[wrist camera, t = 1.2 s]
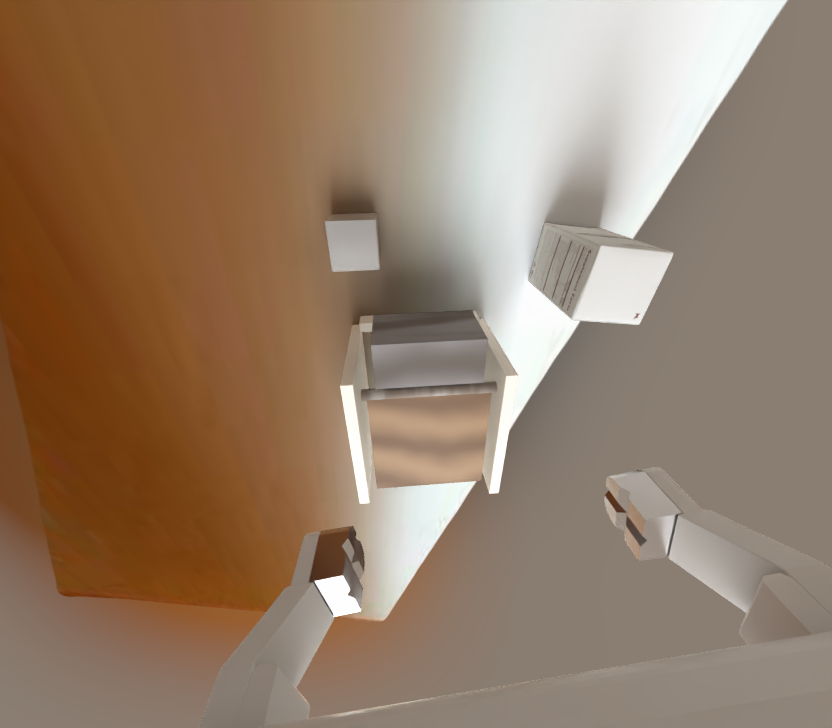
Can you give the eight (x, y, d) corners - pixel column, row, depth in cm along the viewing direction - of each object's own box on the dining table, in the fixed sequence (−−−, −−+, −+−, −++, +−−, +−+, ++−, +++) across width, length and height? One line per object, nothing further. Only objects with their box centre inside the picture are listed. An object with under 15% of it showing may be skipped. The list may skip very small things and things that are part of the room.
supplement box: (601, 226, 40) (679, 252, 30) (578, 286, 44) (640, 328, 34) (543, 219, 40) (601, 243, 29) (525, 281, 43) (571, 322, 33)
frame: (351, 316, 44) (338, 375, 32) (484, 310, 45) (519, 365, 33) (366, 432, 55) (360, 509, 43) (473, 425, 56) (497, 498, 44)
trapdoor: (359, 315, 37) (354, 346, 31) (485, 309, 38) (503, 338, 32) (374, 447, 48) (373, 489, 42) (472, 440, 48) (485, 480, 42)
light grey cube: (331, 214, 38) (324, 221, 33) (376, 212, 38) (375, 219, 34) (337, 259, 40) (332, 271, 36) (380, 257, 40) (379, 269, 36)
